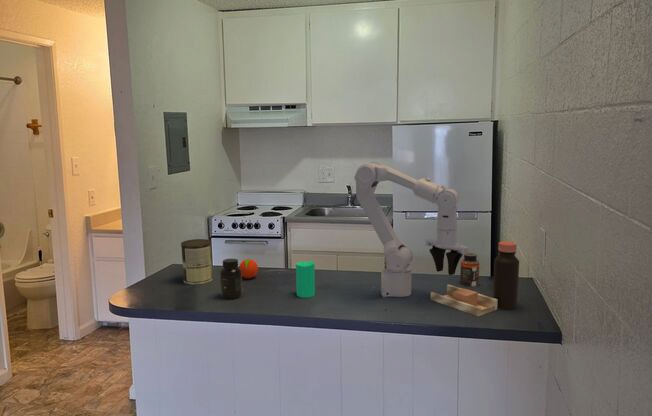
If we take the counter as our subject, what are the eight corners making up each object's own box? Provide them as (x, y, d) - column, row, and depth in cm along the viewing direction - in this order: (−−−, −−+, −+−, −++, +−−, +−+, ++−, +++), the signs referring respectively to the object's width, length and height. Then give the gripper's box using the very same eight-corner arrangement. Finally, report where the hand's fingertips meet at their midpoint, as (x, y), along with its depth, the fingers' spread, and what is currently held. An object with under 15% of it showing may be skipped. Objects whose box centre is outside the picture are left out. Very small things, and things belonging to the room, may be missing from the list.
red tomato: (256, 281, 176) (255, 262, 174) (237, 281, 176) (236, 262, 175) (259, 275, 184) (259, 256, 182) (241, 275, 184) (240, 256, 182)
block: (452, 304, 147) (452, 291, 146) (463, 300, 150) (463, 288, 149) (466, 309, 143) (466, 296, 142) (477, 305, 146) (477, 292, 145)
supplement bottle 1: (216, 296, 160) (214, 261, 158) (232, 291, 166) (231, 256, 164) (231, 301, 156) (229, 264, 154) (246, 295, 161) (245, 259, 160)
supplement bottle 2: (479, 290, 163) (480, 256, 161) (460, 289, 164) (461, 256, 163) (477, 284, 169) (478, 252, 167) (459, 283, 170) (460, 251, 168)
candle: (318, 292, 163) (317, 257, 161) (309, 298, 157) (309, 262, 156) (301, 290, 165) (301, 255, 163) (293, 296, 160) (292, 260, 158)
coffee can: (177, 281, 177) (174, 243, 175) (199, 274, 185) (197, 237, 183) (196, 286, 171) (193, 246, 169) (218, 279, 179) (216, 241, 177)
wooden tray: (430, 303, 152) (430, 290, 151) (463, 292, 161) (463, 280, 160) (478, 320, 138) (478, 306, 137) (511, 307, 147) (511, 294, 146)
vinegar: (521, 310, 145) (525, 243, 142) (506, 315, 141) (510, 247, 138) (502, 303, 150) (505, 239, 147) (487, 308, 147) (490, 242, 144)
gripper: (419, 227, 152) (418, 269, 154) (457, 234, 141) (456, 280, 143) (434, 224, 156) (434, 265, 159) (473, 231, 145) (471, 276, 147)
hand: (445, 272), depth 151 cm, fingers open, 4 cm apart
